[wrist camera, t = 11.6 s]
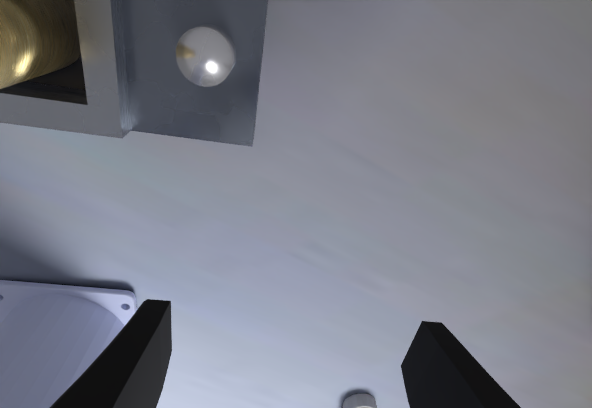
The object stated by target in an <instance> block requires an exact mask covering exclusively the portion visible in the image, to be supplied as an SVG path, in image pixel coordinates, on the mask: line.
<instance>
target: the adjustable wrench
mask: <svg viewBox="0 0 592 408" xmlns="http://www.w3.org/2000/svg"><path fill="white" fill-rule="evenodd" d="M343 408H377V406H376V401H375V399H374V397H373V396H371V395H369V394H362V393H360V394H354V395H351V396H349V397H348V398H346V399H345V400H344V403H343Z"/></svg>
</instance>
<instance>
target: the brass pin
mask: <svg viewBox="0 0 592 408" xmlns="http://www.w3.org/2000/svg"><path fill="white" fill-rule="evenodd" d="M80 55H81V49H80V41H79V34H78V26H77V18H76V11H75V3H74V0H0V89H2V88H5V87H8V86H11V85H14V84H17V83H20V82H23V81H26V80H29V79H32V78H35V77H38V76H41V75H44V74H47V73H50V72H53V71H56V70H59V69H62V68H65V67H68V66H70V65H71V64H73V63H74V62H75V61H76V60H77V59H78V58H79V57H80Z"/></svg>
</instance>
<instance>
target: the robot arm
mask: <svg viewBox="0 0 592 408" xmlns="http://www.w3.org/2000/svg"><path fill="white" fill-rule="evenodd" d="M126 304H128V305H126ZM171 352H172V340H171V301H163V300H150V299H147V300H146V301H144V302H143V303H142V305H141V306H140V307H139V308H138V310H137V308H136V297H135V295H134V293H133V292H131V291H128V290H117V289H105V288H93V287H81V286H68V285H56V284H44V283H32V282H20V281H7V280H0V408H156V406H157V403H158V401H159V398H160V395H161V392H162V389H163V385H164V381H165V377H166V373H167V369H168V365H169V360H170V356H171ZM401 368H402V373H403V379H404V384H405V389H406V393H407V398H408V402H409V405H410V408H521V407H520V406H519V405H518V404H517V403H516V402H515V401H514V400H513V399H512V398H511V397H510V396H509V395H508V394H507V393H506V392H505V391H504V390H503V389H502V388H501V387H500V386H499V384H498V383H497V382H496V381H495V380H494V379H493V378H492V377H491V376H490V375H489V374H488V373H487V372H486V370H485V369H484V368H483V367H482V366H481V365H480V364H479V363H478V362H477V361H476V359H475V358H474V357H473V356H472V355H471V354H470V353H469V352H468V351H467V350H466V348H465V347H464V346H463V345H462V344H461V343H460V342H459V341H458V340H457V339H456V337H455V336H454V335H453V334H452V333H451V332H450V331H449V330H448V329H447V328H446V327H445V326H444V325H443V324H442V323H439V322H426V321H422V322H421V325H420V327H419V329H418V331H417V333H416V335H415V337H414V339H413V341H412V344H411V346H410V348H409V350H408V352H407V354H406V356H405V358H404V360H403V363H402V365H401Z"/></svg>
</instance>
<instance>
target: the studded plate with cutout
mask: <svg viewBox="0 0 592 408" xmlns="http://www.w3.org/2000/svg"><path fill="white" fill-rule="evenodd" d="M74 3H75V11H76V18H77V26H78V34H79V41H80V49H81V57H82V65H83V72H84V80H85V88H86V90H82V89H76V88H69V87H62V86H55V85H48V84H41V83H34V82H27V81H23V82H20V83H17V84H14V85H11V86H8V87H5V88H2V89H0V123H8V124H16V125H24V126H31V127H39V128H47V129H54V130H62V131H70V132H77V133H85V134H93V135H101V136H108V137H116V138H123V137H124V136H125V135H126V134H127V133H129V132H130V131H139V132H146V133H154V134H161V135H169V136H176V137H184V138H191V139H199V140H206V141H214V142H222V143H229V144H237V145H244V146H252V145H253V139H254V130H255V120H256V111H257V101H258V91H259V82H260V72H261V63H262V53H263V44H264V34H265V25H266V15H267V5H268V0H74Z"/></svg>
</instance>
